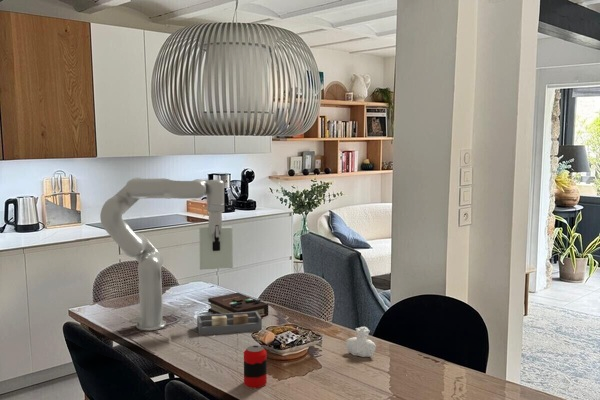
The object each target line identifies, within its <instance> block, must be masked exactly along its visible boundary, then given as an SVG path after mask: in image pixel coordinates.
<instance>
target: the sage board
mask: <svg viewBox="0 0 600 400" xmlns="http://www.w3.org/2000/svg"><path fill="white" fill-rule="evenodd" d="M198 229H199V269H200V270H217V269H219V270H221V269H233V268H234V267H233V226H222V234H221V235H220V251H213V234H212V235H210V228H209V226H208V227H207V226H206V227H199V228H198ZM214 235H216V234H214Z"/></svg>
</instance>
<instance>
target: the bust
mask: <svg viewBox="0 0 600 400" xmlns="http://www.w3.org/2000/svg"><path fill="white" fill-rule="evenodd" d="M370 331H371V330H370V329H369V328H368V327H366V326H360V327H356V328H355V332H356V334H357V337H356V336H354V337H350V338H348V339H346V342H345V348H346V351H347V353H349V354H351V355H353V356H357V357H362V358H365V357H366V358H369V357H373V355H374V352H375V351H376V349H377V346H376V344H375V342H373V340H371V339H369V338H367V336H369V333H370Z"/></svg>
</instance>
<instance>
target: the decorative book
mask: <svg viewBox="0 0 600 400" xmlns="http://www.w3.org/2000/svg"><path fill="white" fill-rule="evenodd" d="M207 302H208V305H207V306H210V307H209V308H208V309H207V311H208V312H209V313H211V314H226V313H239V312H253V311H257V312H258V313H259V315H260V317H261V318H262V317H267V316H269V303H266V302H267V299H263V300H262V299H257V298H254V297H251V296H248V295H246V294H243V293H240V292H235V293H229V294H228V293H227V294H224V295H220V296H219V295H217V296H213V297H209V298H208V299H207Z"/></svg>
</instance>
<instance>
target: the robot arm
mask: <svg viewBox="0 0 600 400" xmlns="http://www.w3.org/2000/svg"><path fill="white" fill-rule="evenodd" d="M204 196H206V212H207V213H208V227H209V228H210V235H212V234H213V251H220V235H221V234H222V227H223V216H222V215H223V213H225V182H224V180H221V179H210V180H208V179H199V178H198V179H197V178H196V179H194V180H172V179H170V178H141V177H135V178H134V177H133V178H131V179H130V180H128V181H127V182H126V184H125V186H123V187H122V188H121V189H120V190H119V191H118V192H116V194H114V195H113V196H112V197H110V198H109V199H107V200H106V201H105V202H104V203H103V205H102V207H101V210H100V216H99V217H100V222H101V225H102V228H103V229H104V230H105V231H106V233H107V234H108V235H109V236H110V237H111V239H112V240H113V241H114V242H115V243H116V244H117V245H118V247H119V248H120V249H121V250H122V252H123V253H124V254H125V255H126V256H127V257H130V258H135V259H136V260H137V262H138V264H137V265H138V266H137V274H138V275H137V276H138V293H139V314H138V316H136V317H129V318H128V322H129V323H131V324H132V325H133V324H136V325H135V326H136V329H138V330H141V331H157V330H161V329H164V328H165V327H166V326H167V322H166V320H164V319H163V284H162V283H163V282H162V280H163V279H162V267H163V263H164V258H163V256H162V254H161V253H160V251H158V249H157V248H156V247H155V246H154V245H153V244H152V242H151V241H150V240H149V239H148V237H146V236H145V235H144V234H143V233H140V232H135V231H134V229H132V227H130V225H129V224H128V222H126V221H125V219H123V217H122V215H124V214H125V213H126V212H127V211H128V210H129V209H131V208H132V206H134V205H135V204H136V203H137V202H138V201H140V200H141V199H179V200H181V199H187V200H188V199H201V198H203V197H204ZM214 234H216V235H214Z"/></svg>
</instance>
